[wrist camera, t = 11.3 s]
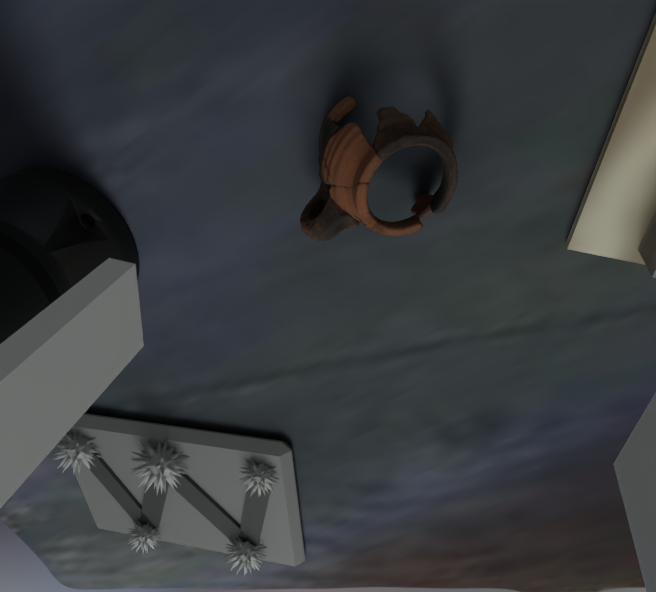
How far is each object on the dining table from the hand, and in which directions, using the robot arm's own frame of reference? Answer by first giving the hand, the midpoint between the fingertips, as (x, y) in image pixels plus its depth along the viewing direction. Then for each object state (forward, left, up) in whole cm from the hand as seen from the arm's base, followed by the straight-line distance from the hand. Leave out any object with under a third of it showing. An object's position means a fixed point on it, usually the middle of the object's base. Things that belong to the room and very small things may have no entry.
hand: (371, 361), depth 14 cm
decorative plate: (-21, -49, -29) cm, 61 cm away
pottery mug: (-4, -5, -29) cm, 30 cm away
